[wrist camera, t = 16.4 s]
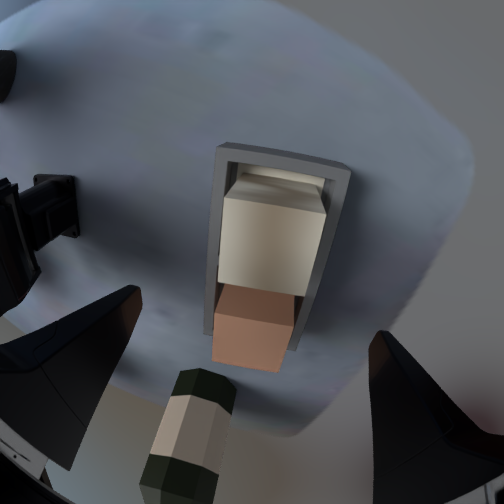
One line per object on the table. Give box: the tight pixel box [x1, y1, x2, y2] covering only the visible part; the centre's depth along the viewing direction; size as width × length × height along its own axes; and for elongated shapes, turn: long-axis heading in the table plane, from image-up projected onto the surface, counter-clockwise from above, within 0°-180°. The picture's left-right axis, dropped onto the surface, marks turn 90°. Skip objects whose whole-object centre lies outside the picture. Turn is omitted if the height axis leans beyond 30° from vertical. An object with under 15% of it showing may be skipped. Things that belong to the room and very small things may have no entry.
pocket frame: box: [204, 142, 351, 351], centre depth 21 cm, size 8×16×3 cm, turn 172°
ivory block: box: [218, 172, 326, 297], centre depth 17 cm, size 5×5×6 cm
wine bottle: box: [139, 368, 237, 504], centre depth 20 cm, size 8×8×30 cm
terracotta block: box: [212, 283, 294, 373], centre depth 20 cm, size 5×5×6 cm
